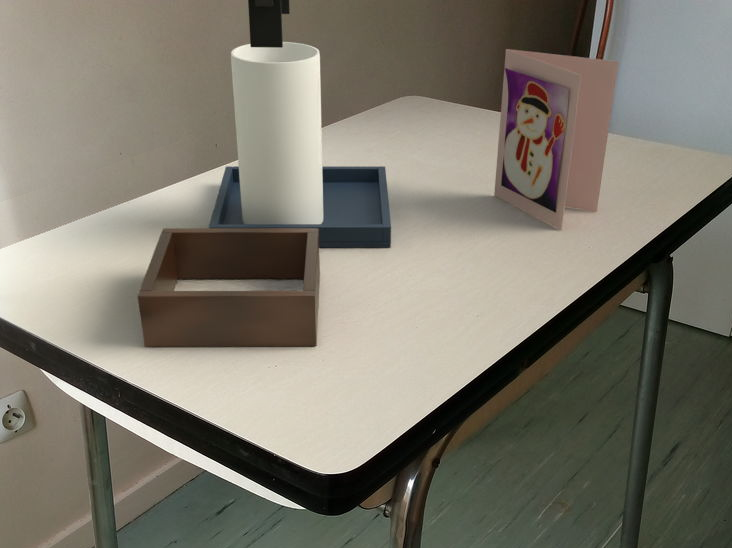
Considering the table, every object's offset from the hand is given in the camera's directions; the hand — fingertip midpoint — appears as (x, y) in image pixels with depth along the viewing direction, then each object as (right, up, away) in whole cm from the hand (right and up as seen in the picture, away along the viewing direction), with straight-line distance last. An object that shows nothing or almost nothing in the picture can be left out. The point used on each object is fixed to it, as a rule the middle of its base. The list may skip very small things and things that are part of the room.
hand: (271, 29), depth 92 cm
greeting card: (+28, -12, +16) cm, 34 cm away
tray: (+2, -13, +14) cm, 19 cm away
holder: (-2, -26, -4) cm, 27 cm away
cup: (0, -14, +11) cm, 18 cm away
